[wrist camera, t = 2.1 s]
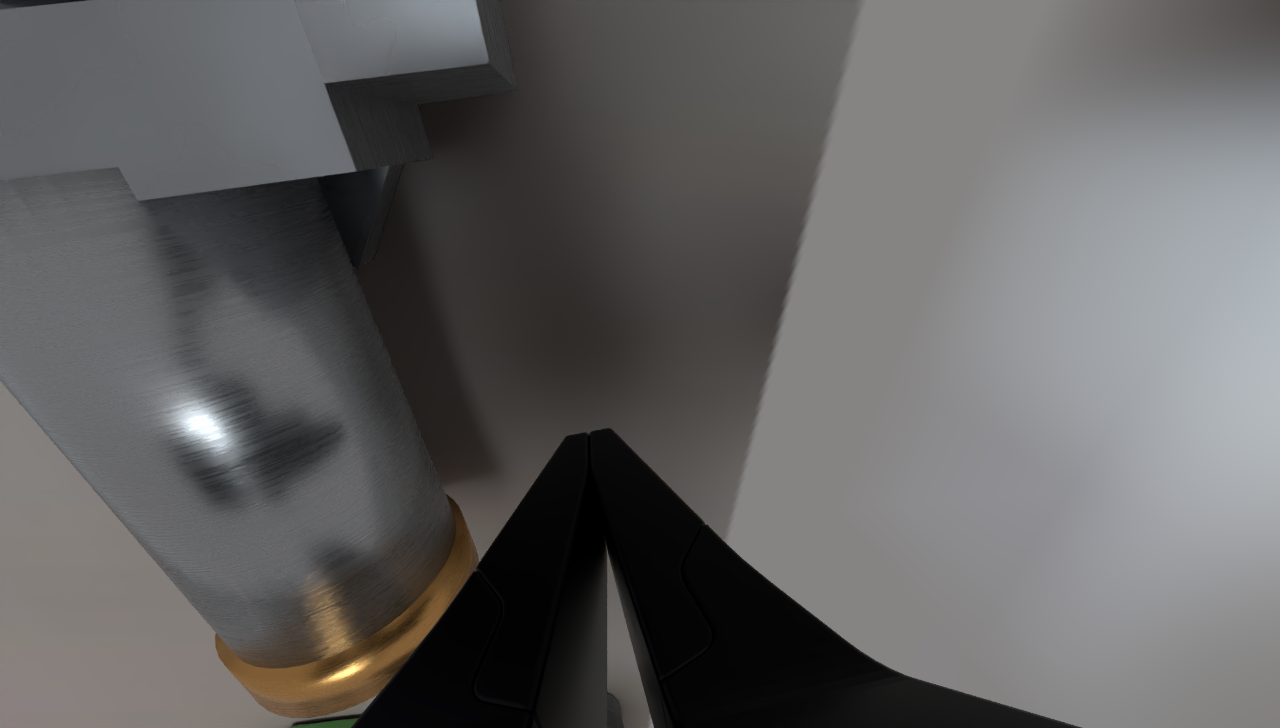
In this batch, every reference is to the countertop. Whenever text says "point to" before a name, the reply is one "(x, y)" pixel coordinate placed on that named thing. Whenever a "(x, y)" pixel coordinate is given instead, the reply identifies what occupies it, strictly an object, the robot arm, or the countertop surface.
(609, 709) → the beverage cup
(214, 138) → the flanged pipe fitting
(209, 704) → the countertop surface
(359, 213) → the duct stub
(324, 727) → the ink box
